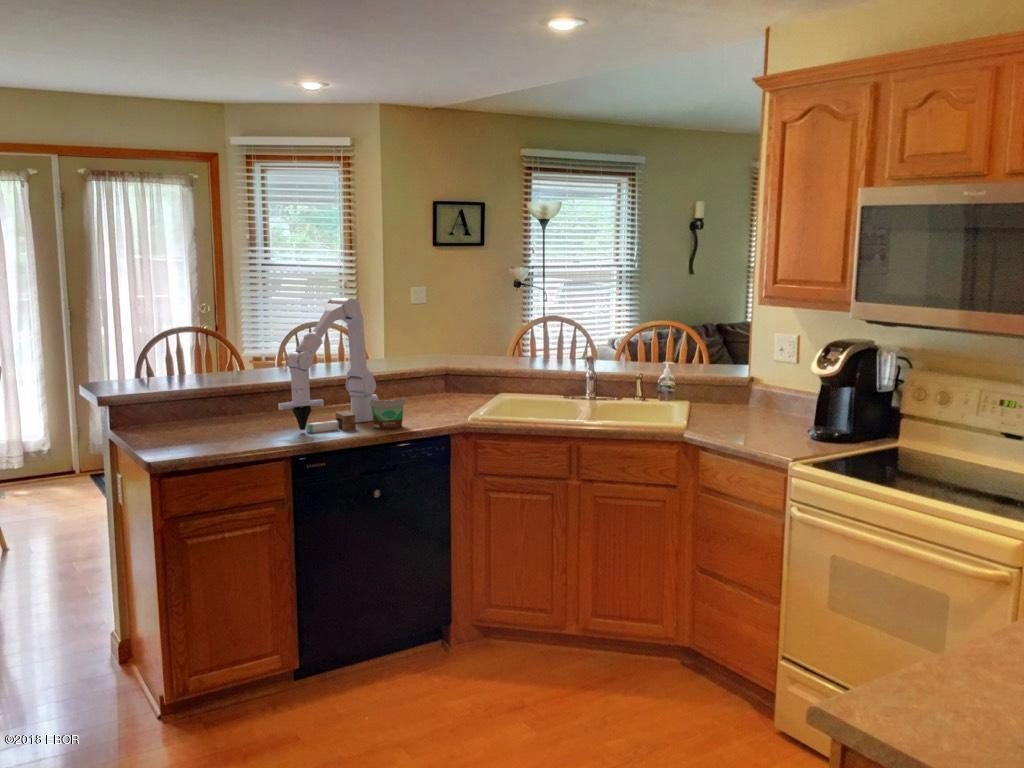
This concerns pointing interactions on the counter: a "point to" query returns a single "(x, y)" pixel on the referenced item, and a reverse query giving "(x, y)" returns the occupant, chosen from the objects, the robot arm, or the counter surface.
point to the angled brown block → (346, 420)
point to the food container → (387, 414)
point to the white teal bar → (322, 426)
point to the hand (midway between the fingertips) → (302, 429)
